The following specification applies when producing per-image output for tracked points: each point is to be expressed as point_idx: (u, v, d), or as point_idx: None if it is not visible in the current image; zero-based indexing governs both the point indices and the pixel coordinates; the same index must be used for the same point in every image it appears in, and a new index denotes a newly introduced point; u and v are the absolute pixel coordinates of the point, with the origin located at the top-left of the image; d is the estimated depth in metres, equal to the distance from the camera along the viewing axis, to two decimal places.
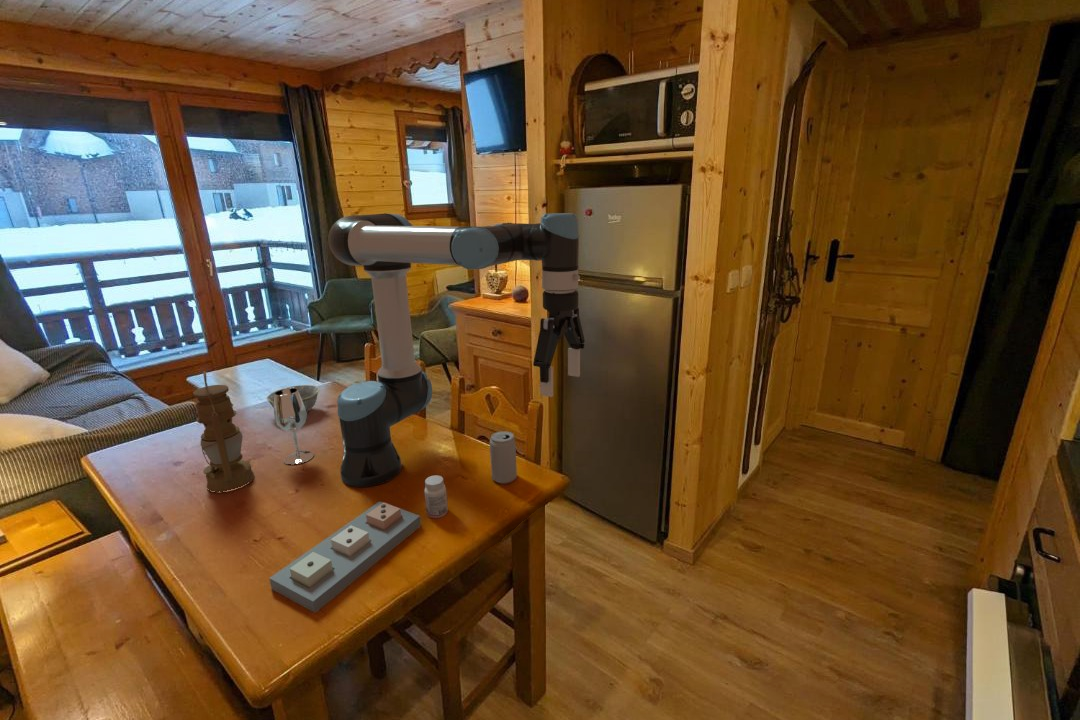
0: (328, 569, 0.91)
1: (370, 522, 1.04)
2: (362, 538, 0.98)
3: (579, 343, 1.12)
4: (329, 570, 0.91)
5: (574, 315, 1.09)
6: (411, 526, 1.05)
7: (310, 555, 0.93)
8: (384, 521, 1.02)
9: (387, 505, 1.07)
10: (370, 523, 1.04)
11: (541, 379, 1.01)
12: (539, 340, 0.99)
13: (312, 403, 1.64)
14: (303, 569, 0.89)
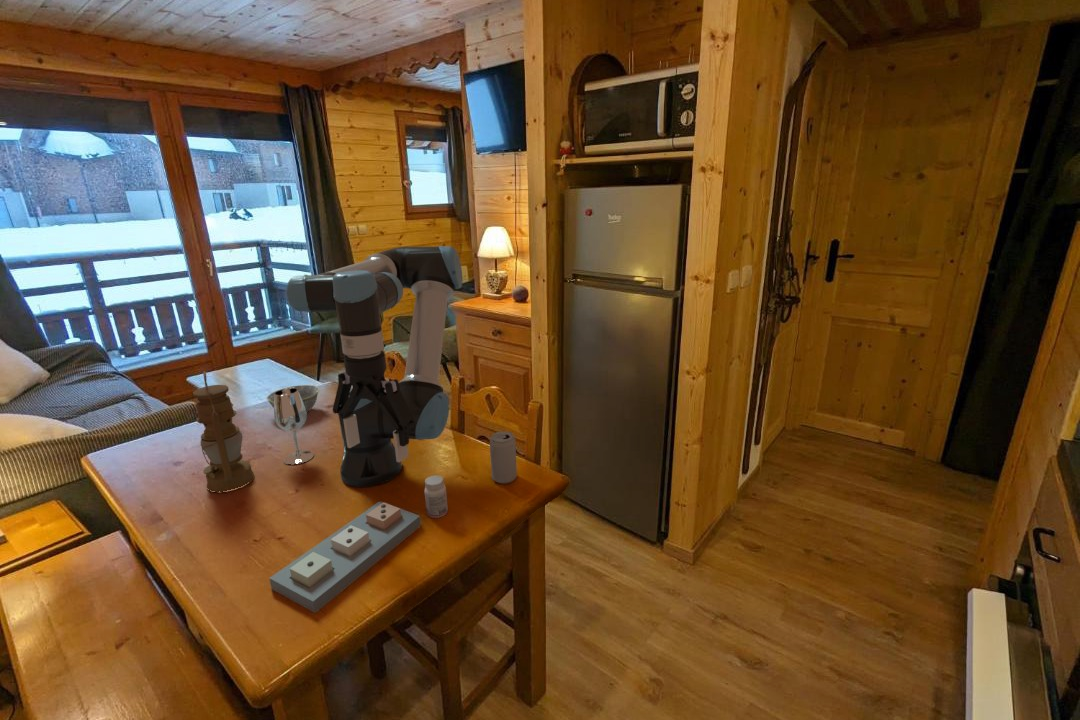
0: (328, 569, 0.91)
1: (370, 522, 1.04)
2: (362, 538, 0.98)
3: (395, 425, 0.94)
4: (329, 570, 0.91)
5: None
6: (411, 526, 1.05)
7: (310, 555, 0.93)
8: (384, 521, 1.02)
9: (387, 505, 1.07)
10: (370, 523, 1.04)
11: None
12: None
13: (312, 403, 1.64)
14: (303, 569, 0.89)
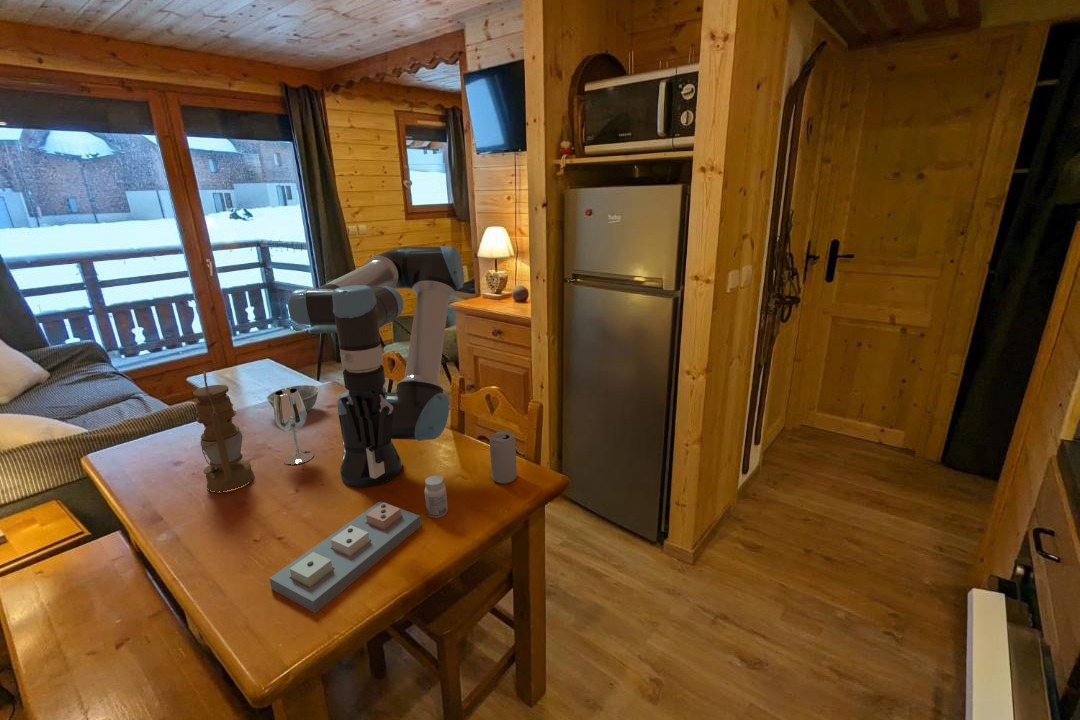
0: (328, 569, 0.91)
1: (370, 522, 1.04)
2: (362, 538, 0.98)
3: (373, 443, 0.98)
4: (329, 570, 0.91)
5: (381, 408, 0.95)
6: (411, 526, 1.05)
7: (310, 555, 0.93)
8: (384, 521, 1.02)
9: (387, 505, 1.07)
10: (370, 523, 1.04)
11: None
12: None
13: (312, 403, 1.64)
14: (303, 569, 0.89)
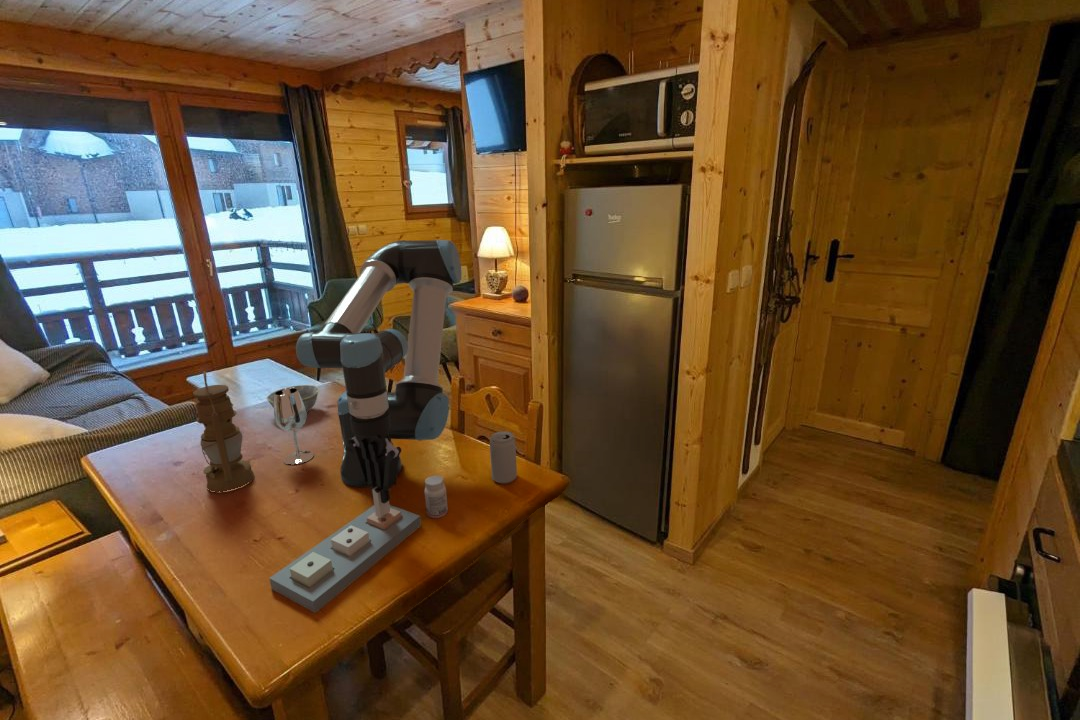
0: (328, 569, 0.91)
1: None
2: (362, 538, 0.98)
3: (378, 484, 1.01)
4: (329, 570, 0.91)
5: (387, 452, 0.98)
6: (411, 526, 1.05)
7: (310, 555, 0.93)
8: (385, 524, 1.03)
9: None
10: None
11: None
12: None
13: (312, 403, 1.64)
14: (303, 569, 0.89)
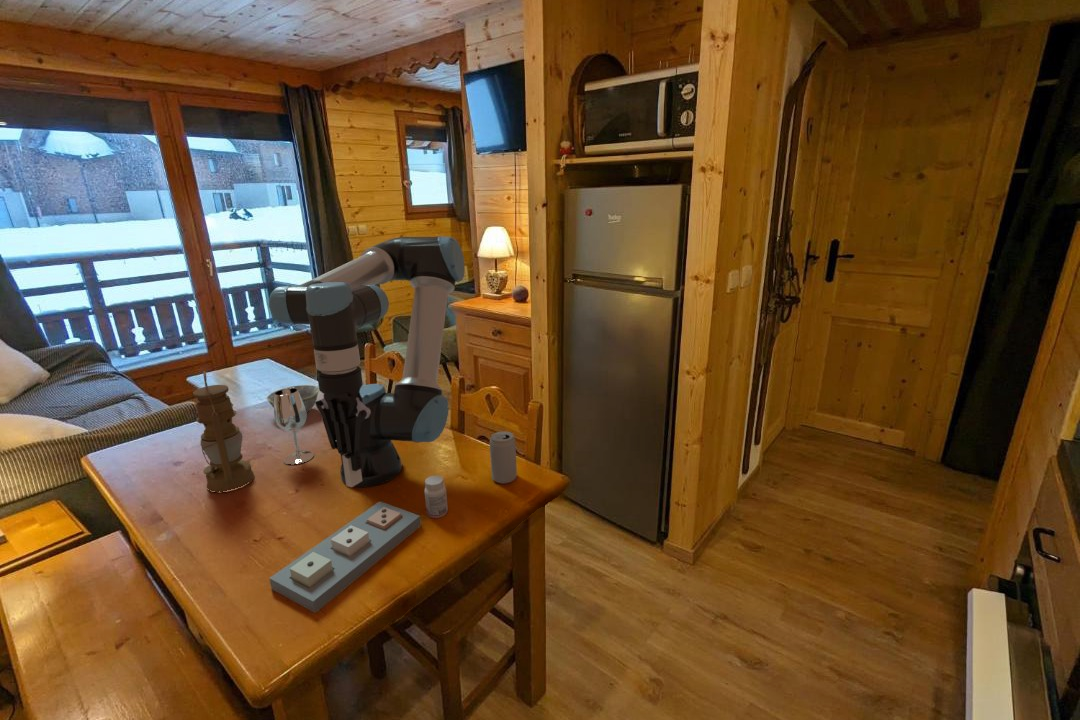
0: (328, 569, 0.91)
1: None
2: (362, 538, 0.98)
3: (349, 449, 0.93)
4: (329, 570, 0.91)
5: (357, 412, 0.89)
6: (411, 526, 1.05)
7: (310, 555, 0.93)
8: (385, 526, 1.03)
9: (388, 510, 1.08)
10: None
11: None
12: None
13: (312, 403, 1.64)
14: (303, 569, 0.89)
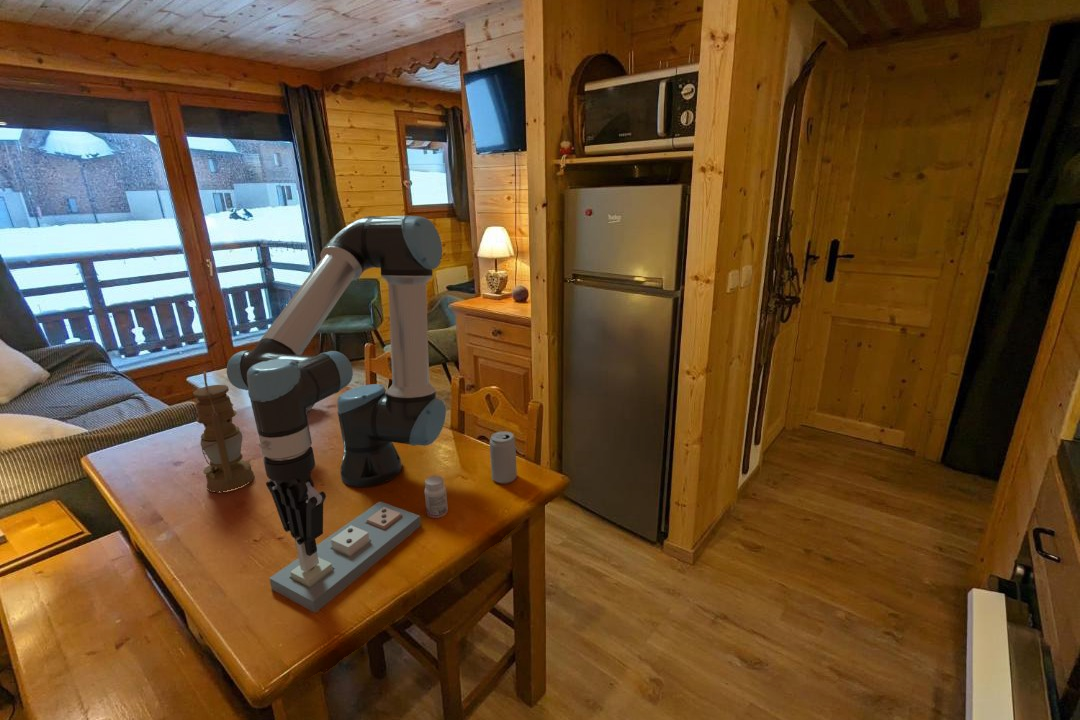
0: (329, 572, 0.91)
1: None
2: (362, 538, 0.98)
3: (301, 535, 0.86)
4: None
5: (308, 499, 0.83)
6: (411, 526, 1.05)
7: None
8: (385, 526, 1.03)
9: (388, 510, 1.08)
10: None
11: None
12: None
13: None
14: (303, 573, 0.89)
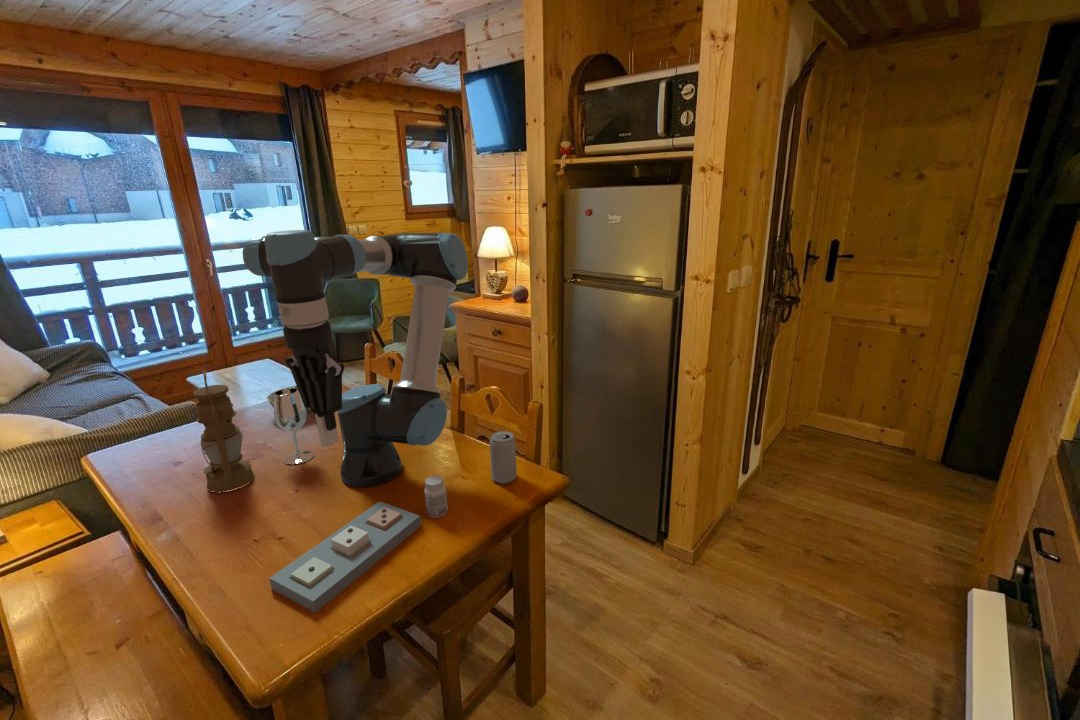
0: None
1: None
2: (362, 538, 0.98)
3: (321, 408, 0.89)
4: None
5: None
6: (411, 526, 1.05)
7: (311, 560, 0.93)
8: (385, 526, 1.03)
9: (388, 510, 1.08)
10: None
11: None
12: None
13: None
14: (304, 574, 0.89)
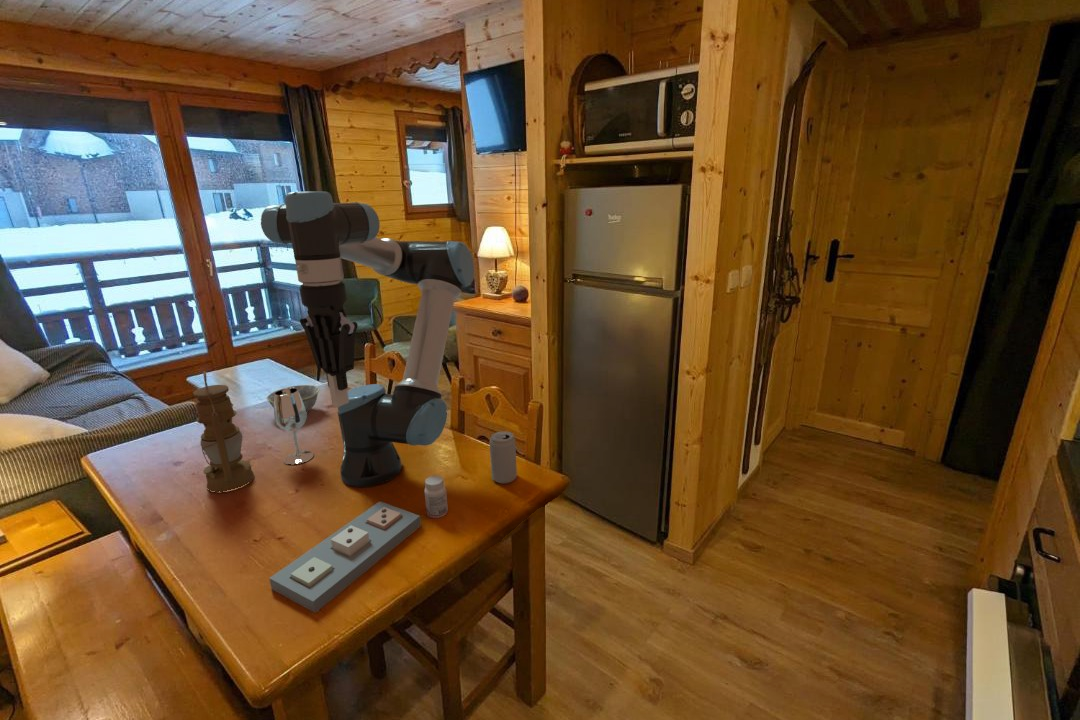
0: None
1: None
2: (362, 538, 0.98)
3: (334, 367, 0.91)
4: None
5: None
6: (411, 526, 1.05)
7: (311, 560, 0.93)
8: (385, 526, 1.03)
9: (388, 510, 1.08)
10: None
11: None
12: None
13: (312, 403, 1.64)
14: (304, 574, 0.89)
